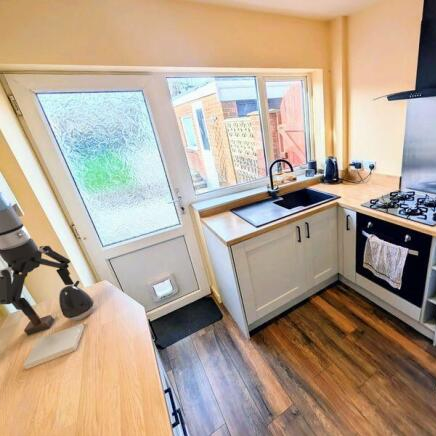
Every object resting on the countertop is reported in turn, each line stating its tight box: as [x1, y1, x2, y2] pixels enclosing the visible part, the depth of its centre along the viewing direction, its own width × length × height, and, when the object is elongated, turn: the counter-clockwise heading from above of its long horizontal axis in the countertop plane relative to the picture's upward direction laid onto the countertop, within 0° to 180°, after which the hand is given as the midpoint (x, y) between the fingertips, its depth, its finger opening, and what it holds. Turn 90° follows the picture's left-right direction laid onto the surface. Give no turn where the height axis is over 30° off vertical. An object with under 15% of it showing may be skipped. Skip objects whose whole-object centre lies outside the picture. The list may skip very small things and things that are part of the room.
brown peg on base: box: [23, 299, 55, 337], centre depth 98 cm, size 7×5×14 cm
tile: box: [22, 323, 85, 370], centre depth 91 cm, size 14×12×2 cm
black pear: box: [58, 280, 95, 321], centre depth 102 cm, size 10×10×15 cm
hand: (51, 298), depth 81 cm, fingers open, 13 cm apart
